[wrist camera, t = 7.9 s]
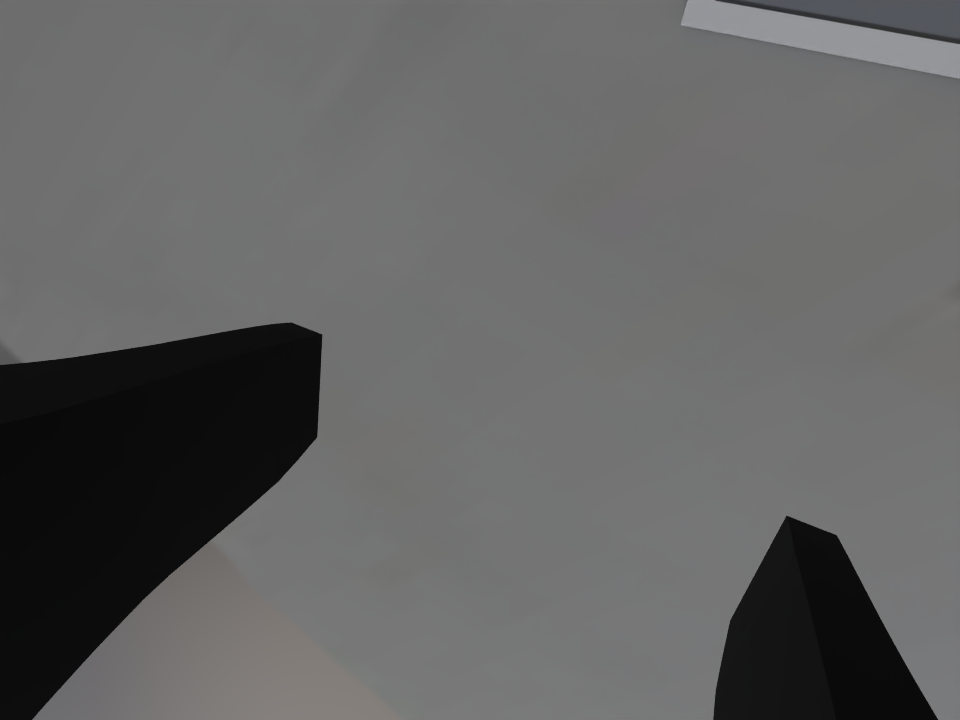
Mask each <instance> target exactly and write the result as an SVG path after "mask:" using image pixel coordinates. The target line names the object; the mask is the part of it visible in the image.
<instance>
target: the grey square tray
mask: <svg viewBox="0 0 960 720" xmlns="http://www.w3.org/2000/svg"><path fill="white" fill-rule="evenodd" d="M681 25H683V26H688V27H693V28H699V29H704V30H709V31H714V32H719V33H725V34H730V35H735V36H740V37H745V38H751V39H756V40H761V41H766V42H771V43H777V44H782V45H787V46H792V47H797V48H803V49H808V50H813V51H818V52H823V53H829V54H834V55H839V56H844V57H849V58H855V59H860V60H865V61H870V62H875V63H880V64H886V65H891V66H896V67H901V68H906V69H912V70H917V71H922V72H927V73H932V74H938V75H943V76H948V77H953V78H958V79H960V0H688V1H687V5H686V8H685V12H684V15H683V19H682V22H681Z"/></svg>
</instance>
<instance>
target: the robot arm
mask: <svg viewBox="0 0 960 720" xmlns="http://www.w3.org/2000/svg"><path fill="white" fill-rule="evenodd" d="M321 350H322V334H319V333H317V332H314V331H312V330H309V329H306V328H304V327H301V326H299V325H296V324H294V323H280V324H270V325H263V326H256V327H250V328H244V329H238V330H232V331H227V332H221V333H216V334H210V335H205V336H199V337H194V338H188V339H183V340H178V341H172V342H167V343H161V344H156V345H150V346H144V347H137V348H131V349H124V350H118V351H111V352H105V353H98V354H92V355H86V356H79V357H73V358H65V359H57V360H48V361H39V362H30V363H19V364H9V365H0V720H32V719H33V718H34V717H35V716H36V715H37V713H38V712H39V711H40V710H41V709H42V708H43V706H44V705H45V704H46V703H47V702H48V701H49V700H50V699H51V698H52V697H53V695H54V694H55V693H56V692H57V691H58V690H59V689H60V688H61V687H62V685H63V684H64V683H65V682H66V681H67V680H68V679H69V678H70V677H71V676H72V674H73V673H74V672H75V671H76V670H77V669H78V668H79V667H80V666H81V664H82V663H83V662H84V661H85V660H86V659H87V658H88V657H89V656H90V655H91V654H92V652H93V651H94V650H95V649H96V648H97V647H98V646H99V645H100V644H101V643H102V642H103V641H104V640H105V639H106V638H107V637H108V635H110V633H112V631H113V630H114V629H115V628H116V627H117V626H118V625H119V624H120V623H121V622H122V621H123V620H124V619H125V618H126V617H127V616H128V615H129V614H130V613H131V612H132V611H133V609H135V608H136V607H137V605H138V604H139V603H140V602H141V601H142V600H143V599H144V598H145V597H146V596H148V595H149V594H150V593H151V592H152V591H153V590H154V589H155V588H156V587H157V586H158V585H159V584H160V583H162V582H163V581H164V580H165V579H166V578H167V577H168V576H169V575H170V574H171V573H173V572H174V571H175V570H176V569H177V568H178V567H180V566H181V565H182V564H183V563H184V562H185V561H186V560H188V559H189V558H190V557H191V556H193V555H194V554H195V553H196V552H197V551H198V550H200V549H201V548H202V547H203V546H204V545H205V544H207V543H208V542H209V541H210V540H211V539H212V538H214V537H215V536H216V535H217V534H218V533H220V532H221V531H222V530H223V529H224V528H225V527H227V526H228V525H229V524H230V523H231V522H232V521H234V520H235V519H236V518H237V517H238V516H239V515H241V514H242V513H243V512H244V511H245V510H246V509H248V508H249V507H250V506H251V505H252V504H253V503H254V502H256V501H257V500H258V499H259V498H260V497H261V496H262V495H264V494H265V493H266V492H267V491H268V490H269V489H270V488H271V487H273V486H274V485H275V484H276V483H277V482H278V481H279V480H280V479H281V478H282V477H283V476H284V475H285V473H286V472H287V471H288V470H289V469H290V468H291V467H292V466H293V465H294V464H295V463H296V461H297V460H298V459H299V458H300V457H301V456H302V454H303V453H304V452H305V451H306V450H307V448H308V447H309V446H310V445H311V444H312V443H313V441H314V440H315V439H316V438H317V431H318V410H319V390H320V370H321ZM713 720H938V719H937V717H936V715H935V714H934V712H933V710H932V709H931V707H930V705H929V704H928V702H927V700H926V699H925V697H924V695H923V694H922V692H921V690H920V688H919V687H918V685H917V683H916V682H915V680H914V678H913V676H912V675H911V673H910V671H909V669H908V668H907V666H906V664H905V662H904V661H903V659H902V657H901V655H900V653H899V652H898V650H897V648H896V646H895V644H894V643H893V641H892V639H891V637H890V635H889V633H888V632H887V630H886V628H885V626H884V624H883V622H882V621H881V619H880V617H879V615H878V613H877V611H876V609H875V607H874V605H873V604H872V602H871V600H870V598H869V596H868V594H867V592H866V590H865V588H864V586H863V584H862V583H861V581H860V579H859V577H858V575H857V573H856V571H855V569H854V567H853V565H852V563H851V561H850V559H849V557H848V555H847V554H846V552H845V550H844V548H843V546H842V544H841V542H840V540H839V539H838V537H837V535H835V534H832V533H829V532H827V531H824V530H822V529H819V528H817V527H814V526H812V525H809V524H806V523H804V522H801V521H799V520H796V519H794V518H791V517H788V516H786V518H785V520H784V522H783V523H782V525H781V527H780V529H779V531H778V533H777V535H776V536H775V538H774V540H773V542H772V544H771V546H770V548H769V549H768V551H767V553H766V555H765V557H764V559H763V561H762V563H761V564H760V566H759V568H758V570H757V572H756V574H755V576H754V577H753V579H752V581H751V583H750V585H749V587H748V589H747V590H746V592H745V594H744V596H743V598H742V600H741V602H740V603H739V605H738V607H737V609H736V611H735V613H734V615H733V616H732V618H731V620H730V624H729V629H728V634H727V638H726V643H725V647H724V652H723V657H722V662H721V667H720V672H719V677H718V682H717V687H716V695H715V706H714V718H713Z"/></svg>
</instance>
